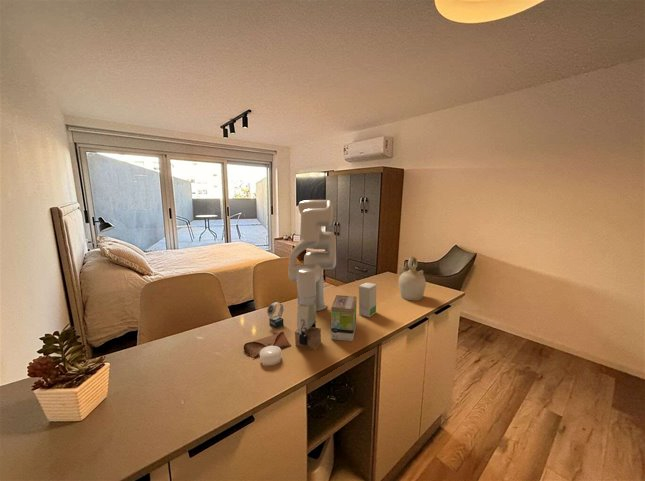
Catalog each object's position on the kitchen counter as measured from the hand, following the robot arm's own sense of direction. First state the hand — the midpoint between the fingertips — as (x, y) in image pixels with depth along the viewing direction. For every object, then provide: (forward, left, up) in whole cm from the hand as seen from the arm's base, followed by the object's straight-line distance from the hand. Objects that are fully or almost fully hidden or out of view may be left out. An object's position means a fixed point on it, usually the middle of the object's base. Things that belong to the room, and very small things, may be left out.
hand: (308, 338), depth 108 cm
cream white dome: (-10, -14, -3) cm, 17 cm away
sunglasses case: (-15, -7, -3) cm, 17 cm away
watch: (-21, +11, -3) cm, 24 cm away
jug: (+41, +66, -3) cm, 78 cm away
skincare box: (+19, +36, -3) cm, 41 cm away
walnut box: (0, 0, -3) cm, 3 cm away
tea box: (+12, +14, -3) cm, 19 cm away
